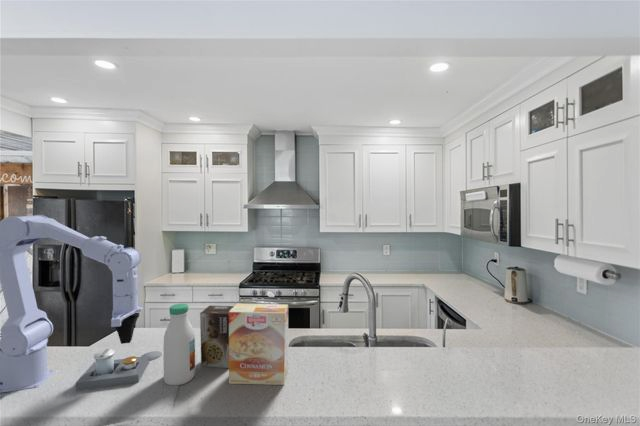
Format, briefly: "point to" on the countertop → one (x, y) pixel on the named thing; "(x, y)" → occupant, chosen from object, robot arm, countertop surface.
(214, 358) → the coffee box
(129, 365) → the plunger
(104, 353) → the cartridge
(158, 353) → the pad
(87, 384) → the grey flat block
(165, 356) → the milk bottle
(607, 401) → the countertop surface
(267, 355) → the coffeecake box
